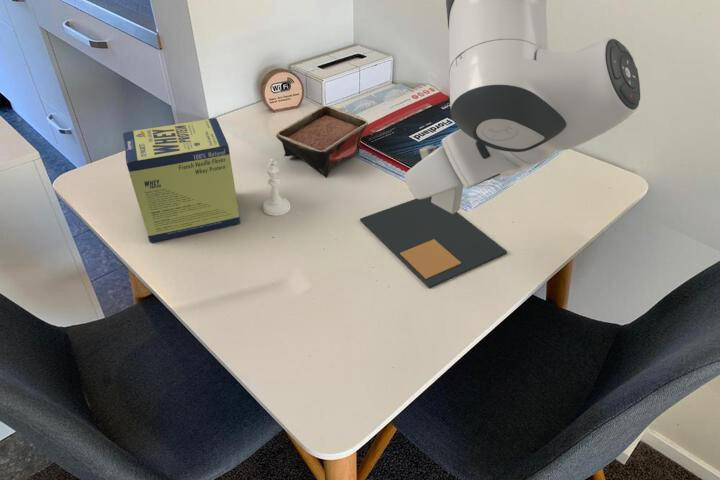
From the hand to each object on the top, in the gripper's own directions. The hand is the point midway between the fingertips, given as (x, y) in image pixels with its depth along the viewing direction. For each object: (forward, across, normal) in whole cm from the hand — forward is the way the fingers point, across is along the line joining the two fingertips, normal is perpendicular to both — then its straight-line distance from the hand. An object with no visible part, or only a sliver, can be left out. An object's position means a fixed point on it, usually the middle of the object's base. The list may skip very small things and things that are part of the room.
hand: (437, 174), depth 74 cm
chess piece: (+31, +10, -8) cm, 34 cm away
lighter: (+3, 0, +4) cm, 5 cm away
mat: (+14, -5, +9) cm, 17 cm away
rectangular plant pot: (+37, -8, -14) cm, 41 cm away
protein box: (+36, +23, -13) cm, 45 cm away
